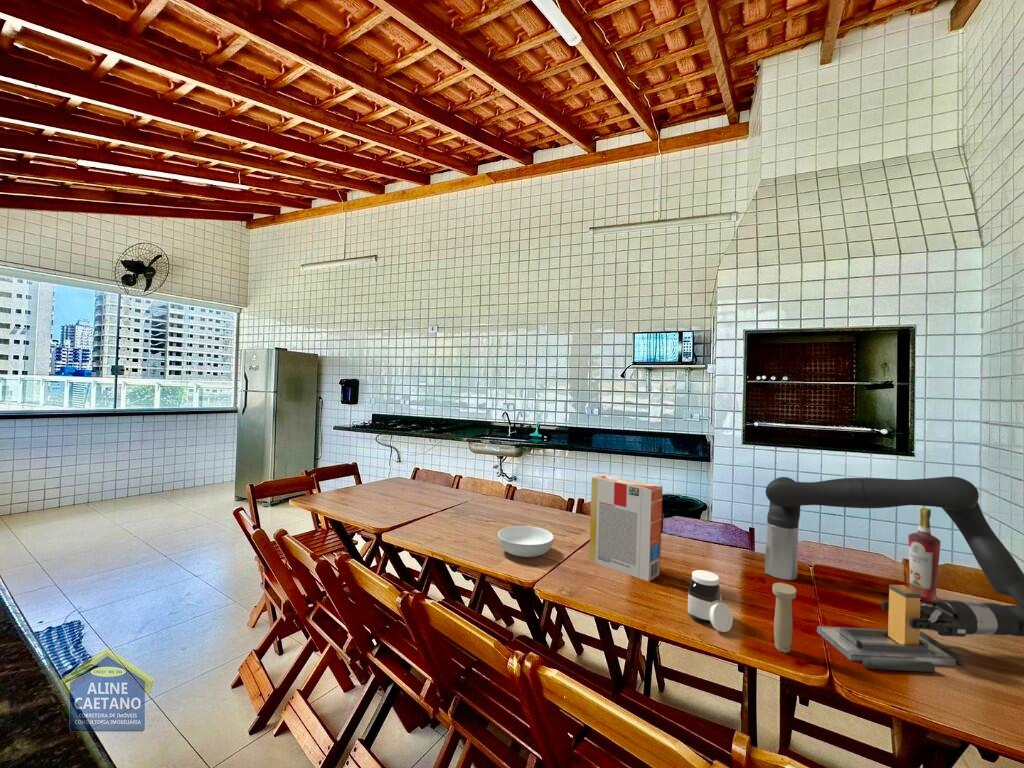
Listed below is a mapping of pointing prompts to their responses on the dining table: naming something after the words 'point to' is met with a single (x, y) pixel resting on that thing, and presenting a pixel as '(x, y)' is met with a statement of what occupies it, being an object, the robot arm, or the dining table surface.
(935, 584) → the liquor
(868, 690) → the dining table surface
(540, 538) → the serving bowl
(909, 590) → the tan wooden block
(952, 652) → the dark grey rounded bar
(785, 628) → the handle
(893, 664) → the grey rounded rod
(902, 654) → the panel
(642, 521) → the cereal box
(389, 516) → the dining table surface
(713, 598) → the spread jar
